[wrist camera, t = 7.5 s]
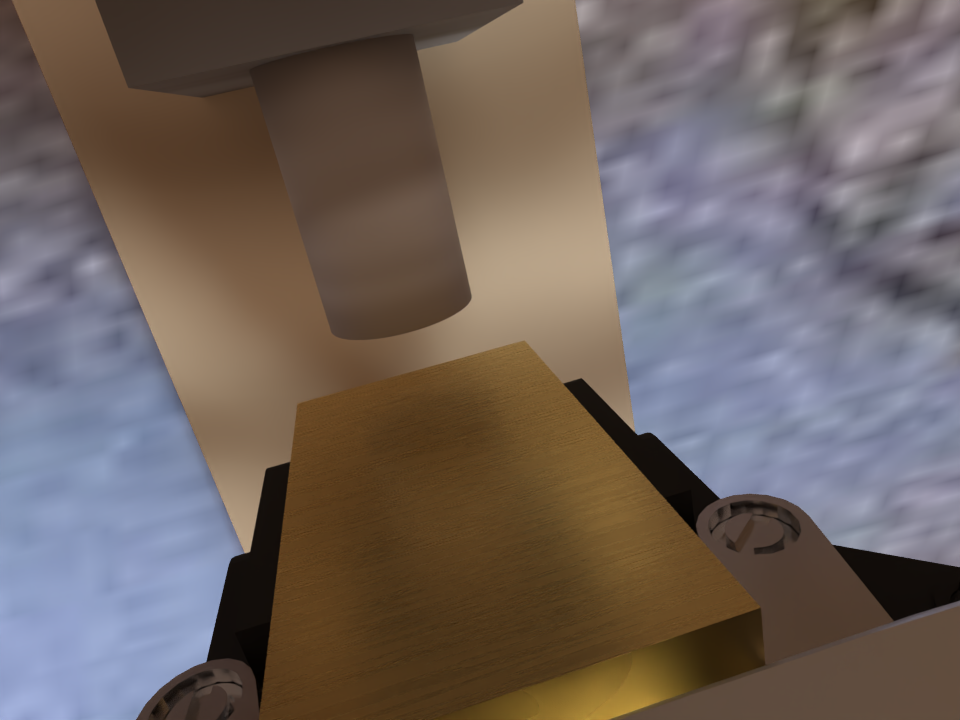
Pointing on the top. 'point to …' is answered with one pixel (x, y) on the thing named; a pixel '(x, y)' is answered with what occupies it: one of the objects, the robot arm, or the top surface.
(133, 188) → the shaft mount
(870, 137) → the top surface
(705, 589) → the yellow rectangular block
